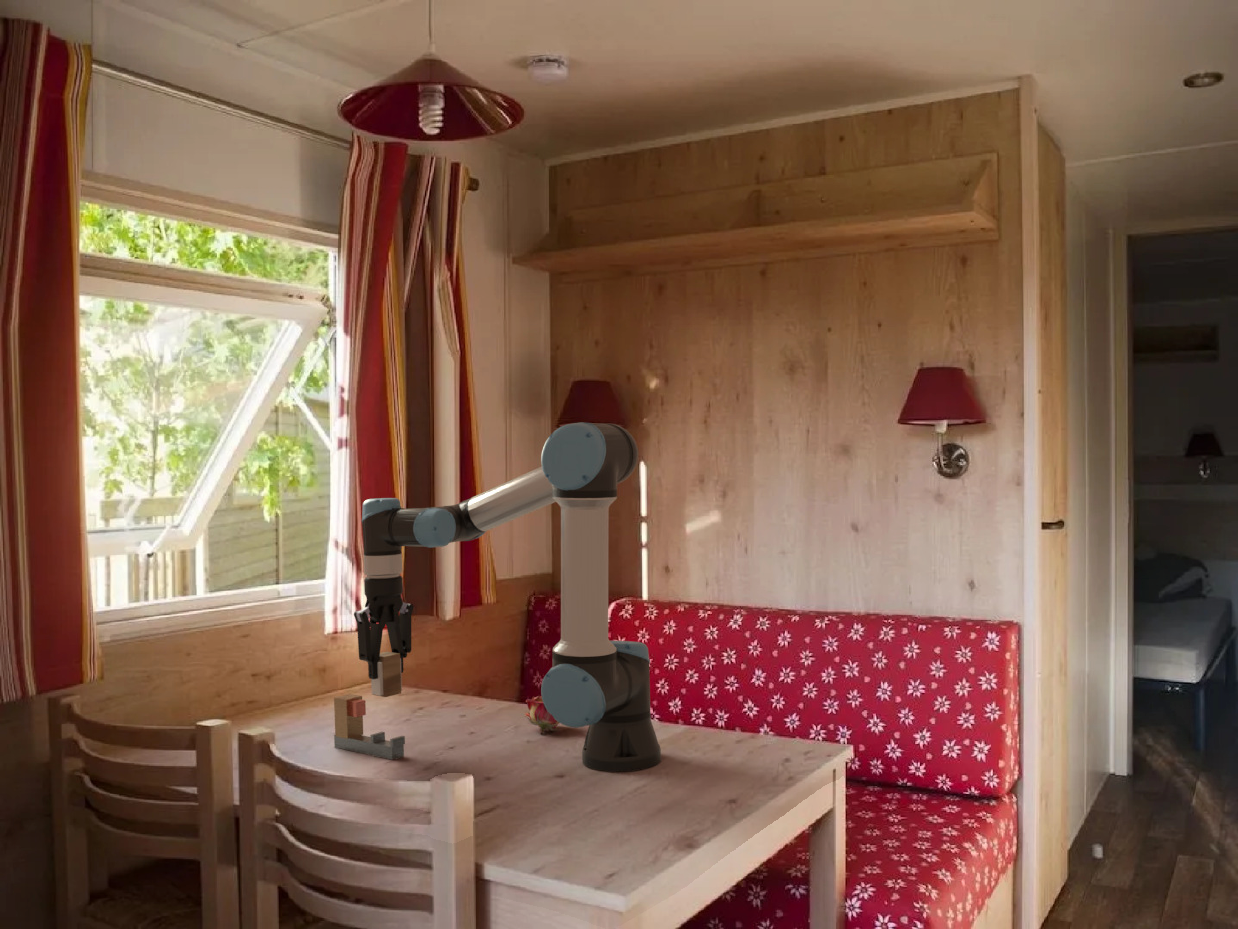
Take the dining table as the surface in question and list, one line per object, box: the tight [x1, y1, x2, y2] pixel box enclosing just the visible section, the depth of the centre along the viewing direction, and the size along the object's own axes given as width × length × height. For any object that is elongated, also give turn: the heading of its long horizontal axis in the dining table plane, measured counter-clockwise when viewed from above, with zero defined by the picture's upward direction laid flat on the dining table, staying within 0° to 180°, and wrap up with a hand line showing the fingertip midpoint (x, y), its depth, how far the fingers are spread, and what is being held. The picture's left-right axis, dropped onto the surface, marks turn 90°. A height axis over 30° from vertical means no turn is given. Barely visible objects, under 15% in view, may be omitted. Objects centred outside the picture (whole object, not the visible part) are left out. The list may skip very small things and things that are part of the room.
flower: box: [524, 695, 560, 735], centre depth 237 cm, size 10×9×8 cm
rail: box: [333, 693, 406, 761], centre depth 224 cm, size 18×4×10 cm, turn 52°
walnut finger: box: [371, 651, 402, 698], centre depth 222 cm, size 6×4×8 cm, turn 52°
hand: (386, 692), depth 221 cm, fingers closed on walnut finger, 4 cm apart
